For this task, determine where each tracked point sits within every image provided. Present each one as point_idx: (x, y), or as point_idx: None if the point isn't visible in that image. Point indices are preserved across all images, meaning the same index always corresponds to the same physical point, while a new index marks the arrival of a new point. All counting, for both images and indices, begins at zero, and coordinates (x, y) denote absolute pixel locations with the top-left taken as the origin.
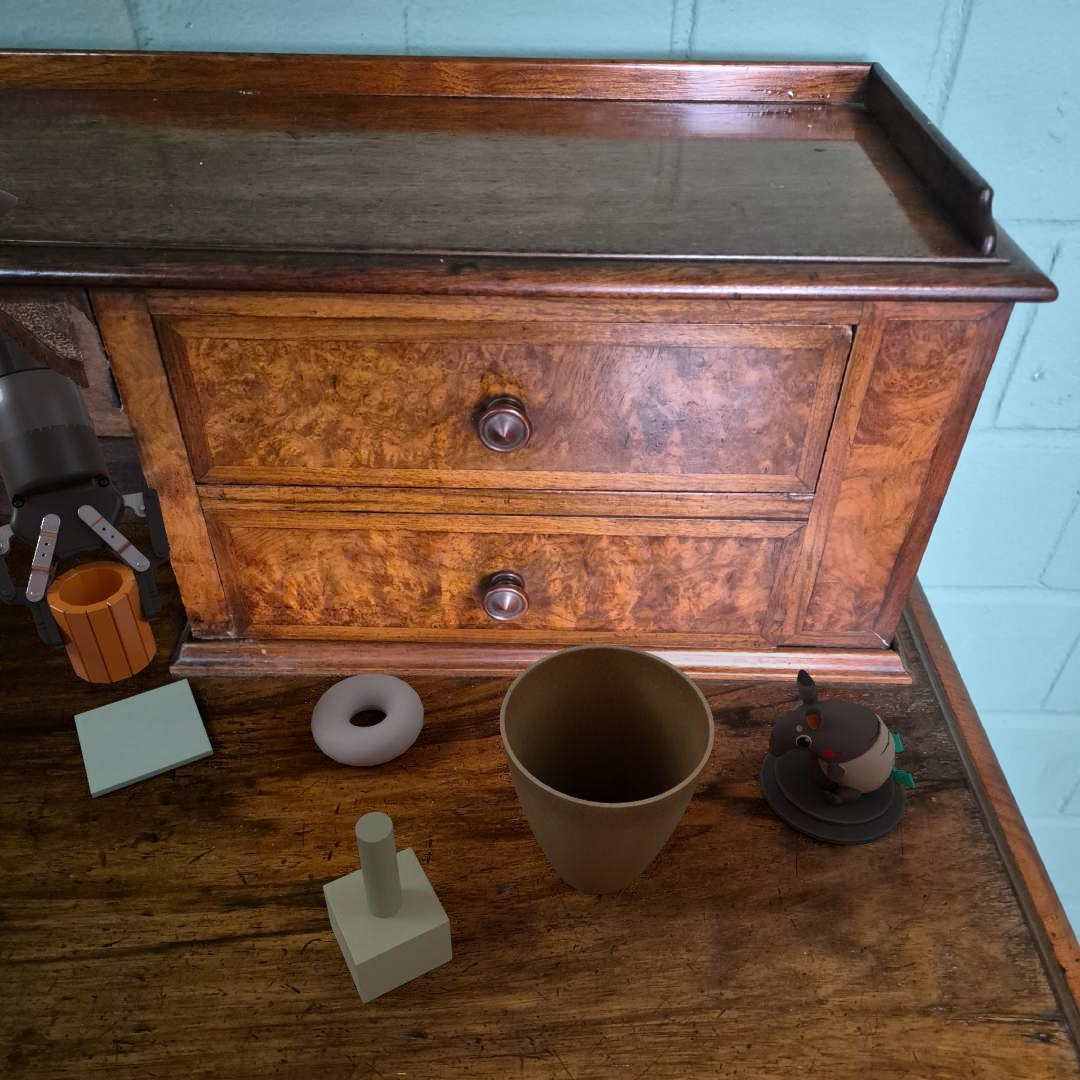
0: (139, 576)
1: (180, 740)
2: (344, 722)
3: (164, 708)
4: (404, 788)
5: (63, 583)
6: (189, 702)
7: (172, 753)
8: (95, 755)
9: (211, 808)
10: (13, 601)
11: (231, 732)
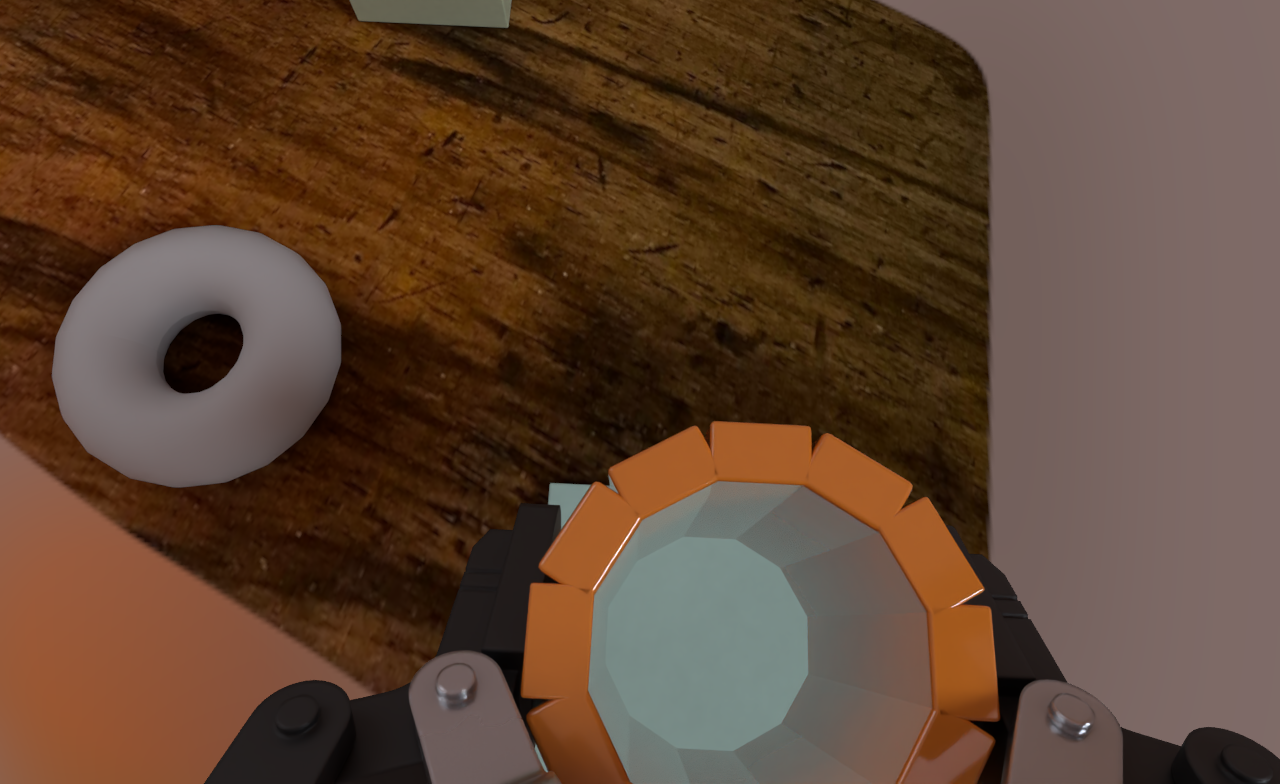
0: (502, 637)
1: None
2: (251, 320)
3: None
4: (256, 198)
5: (903, 771)
6: None
7: None
8: (798, 612)
9: (602, 344)
10: (1176, 749)
11: None
